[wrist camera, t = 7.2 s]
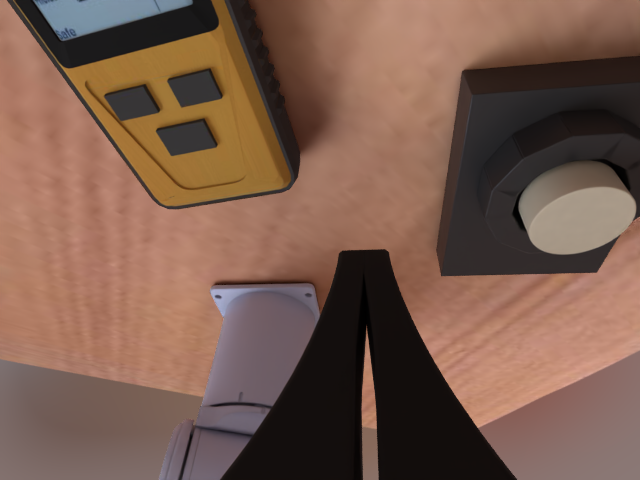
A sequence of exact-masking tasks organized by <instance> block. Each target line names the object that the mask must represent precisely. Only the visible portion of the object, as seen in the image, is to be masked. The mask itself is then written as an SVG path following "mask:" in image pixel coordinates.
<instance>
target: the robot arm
mask: <svg viewBox="0 0 640 480" xmlns="http://www.w3.org/2000/svg"><path fill="white" fill-rule="evenodd" d="M210 293H211V295H212V297H213V299H214V301H215V303H216V305H217V307H218V308H219V310H220V312H221V314H222V316H223V318H224V320H223V324H222V328H221V332H220V336H219V339H218V343H217V347H216V351H215V355H214V359H213V363H212V367H211V371H210V375H209V379H208V383H207V387H206V391H205V395H204V399H203V403H202V406H200V410H199V414H198V417H197V422H196V425H193V422H194V420H192V419H185V420H184V421H183V423H180V424H179V425H178V426H176V427H175V429H174V431H173V433H172V437H171V439H170V443H169V446H168V449H167V452H166V456H165V459H164V462H163V466H162V470H161V473H160V476H159V480H363V466H362V411H361V408H362V385H363V371H364V356H365V341H366V326H367V331H368V339H369V348H370V356H371V364H372V373H373V381H374V389H375V399H376V415H377V441H378V471H379V480H517V479H516V478H515V476H514V475H513V474H512V473H511V471H510V470H509V469H508V468H507V466H506V465H505V464H504V462H503V461H502V460H501V459H500V458H499V456H498V455H497V454H496V452H495V451H494V449H493V448H492V447H491V445H490V444H489V443H488V442H487V440H486V439H485V438H484V436H483V435H482V434H481V432H480V431H479V429H478V428H477V426H476V425H475V424H474V422H473V421H472V419H471V418H470V416H469V415H468V413H467V412H466V411H465V409H464V408H463V406H462V405H461V403H460V402H459V400H458V399H457V398H456V396H455V395H454V393H453V391H452V390H451V388H450V387H449V385H448V383H447V382H446V380H445V379H444V377H443V375H442V374H441V372H440V370H439V369H438V367H437V365H436V364H435V362H434V360H433V358H432V357H431V355H430V353H429V351H428V349H427V348H426V346H425V344H424V342H423V340H422V338H421V336H420V334H419V332H418V330H417V328H416V326H415V324H414V322H413V320H412V318H411V316H410V313H409V311H408V309H407V307H406V304H405V302H404V300H403V297H402V295H401V292H400V290H399V287H398V284H397V281H396V279H395V276H394V272H393V269H392V266H391V261H390V257H389V252H388V251H387V250H385V249H380V250H348V251H342V252H340V253H339V257H338V263H337V267H336V271H335V275H334V279H333V282H332V285H331V288H330V291H329V294H328V297H327V299H326V302H325V305H324V307H323V310H322V313H321V315H320V312H319V307H318V302H317V297H316V292H315V287H314V286H313V285H312V284H309V283H296V284H250V285H214V286H212V287H211V289H210Z"/></svg>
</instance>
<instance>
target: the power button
mask: <svg viewBox="0 0 640 480" xmlns="http://www.w3.org/2000/svg"><path fill="white" fill-rule="evenodd" d="M518 208H519V213H520V215H521V218H522V220H523V223H524V225H525V228H526V230H527V233H528V235H529V238H530V240H531V242H532V243H533V244H534V245H535V246H536V247H537V248H539V249H540V250H542V251H545V252H548V253H552V254H575V253H581V252H585V251H589V250H592V249H595V248H598V247H600V246H602V245H604V244H606V243H608V242H610V241H612V240H613V239H615V238H616V237H618V236H619V235H620V234H621V233H622V232H624V231H625V230H626V229H627V228H628V226H629V225H630V224H631V222H632V221H633V219H634V217H635V214H636V202H635V200H634V198H633V197H632V195H631V194H630V192H629V191H628V190H627V188H626V187H625V185H624V184H623V183H622V181H621V180H620V178H619V177H618V175H617V174H616V173H615V171H614V170H613V169H612V168H611V167H609V166H608V165H606V164H604V163H601V162H597V161H591V160H580V161H573V162H568V163H565V164H563V165H560V166H558V167H555V168H553V169H551V170H548V171H546V172H544V173H542V174H540V175H539V176H538V177H536V178H535V179H534V180H533V181H532V182H531V183H530V184H529V185H528V186H527V187H526V188H525V190H524V191H523V193H522V194H521V197H520V200H519V206H518Z"/></svg>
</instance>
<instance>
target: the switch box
mask: <svg viewBox="0 0 640 480" xmlns="http://www.w3.org/2000/svg"><path fill="white" fill-rule="evenodd" d="M580 160H591V161H597V162H601V163H604V164H606V165H608V166H609V167H611V168H612V169H613V170H614V171H615V173H616V174H617V175H618V177H619V178H620V180H621V181H622V183H623V184H624V185H625V187H626V188H627V190H628V191H629V192H630V194H631V195H632V197H633V198H634V200H635V202H636V214H635V217H634V219H633V221H634V220H635V219H636V218H638V217H639V216H640V56H636V57H624V58H612V59H600V60H588V61H576V62H564V63H552V64H540V65H528V66H515V67H503V68H491V69H479V70H467V71H462V77H461V84H460V91H459V97H458V104H457V111H456V118H455V125H454V132H453V139H452V146H451V153H450V160H449V166H448V173H447V180H446V187H445V194H444V201H443V208H442V215H441V222H440V229H439V235H438V242H437V249H436V251H437V256H438V261H439V267H440V272H441V276H469V275H513V274H556V273H596V272H597V271H598V270H599V268H600V266H601V265H602V263H603V262H604V260H605V258H606V257H607V255H608V253H609V252H610V250H611V249H612V247H613V245H614V244H615V242H616V240H617V239H618V237H619V236H620V235H619V236H618V237H616V238H615V239H613V240H612V241H610V242H608V243H606V244H604V245H602V246H600V247H598V248H595V249H592V250H589V251H585V252H581V253H575V254H552V253H548V252H545V251H542V250H540V249H539V248H537V247H536V246H535V245H534V244H533V243H532V242H531V240H530V238H529V235H528V233H527V230H526V228H525V225H524V223H523V220H522V218H521V215H520V213H519V208H518V206H519V200H520V197H521V194H522V193H523V191H524V190H525V188H526V187H527V186H528V185H529V184H530V183H531V182H532V181H533V180H534V179H535V178H536V177H538V176H539V175H540V174H542V173H544V172H546V171H548V170H551V169H553V168H555V167H558V166H560V165H563V164H565V163H568V162H573V161H580Z"/></svg>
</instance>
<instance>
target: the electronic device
mask: <svg viewBox="0 0 640 480" xmlns="http://www.w3.org/2000/svg"><path fill="white" fill-rule="evenodd" d="M7 1H8V2H9V3H10V5H11V6H12V8H13V9H14V10H15V12H16V13H17V14H18V16H19V17H20V19H21V20H22V21H23V23H24V24H25V25H26V27H27V28H28V30H29V31H30V32H31V34H32V35H33V36H34V38H35V39H36V41H37V42H38V43H39V45H40V46H41V47H42V49H43V50H44V52H45V53H46V54H47V56H48V57H49V58H50V60H51V61H52V62H53V64H54V65H55V67H56V68H57V69H58V71H59V72H60V73H61V75H62V76H63V78H64V79H65V80H66V82H67V83H68V84H69V86H70V87H71V89H72V90H73V91H74V93H75V94H76V95H77V97H78V98H79V100H80V101H81V102H82V104H83V105H84V106H85V108H86V109H87V111H88V112H89V113H90V115H91V116H92V117H93V119H94V120H95V122H96V123H97V124H98V126H99V127H100V128H101V130H102V131H103V132H104V134H105V135H106V137H107V138H108V139H109V141H110V142H111V143H112V145H113V146H114V148H115V149H116V150H117V152H118V153H119V154H120V156H121V157H122V159H123V160H124V161H125V163H126V164H127V165H128V167H129V168H130V170H131V171H132V172H133V174H134V175H135V176H136V178H137V179H138V181H139V182H140V183H141V185H142V186H143V187H144V189H145V190H146V192H147V193H148V194H149V196H150V197H151V198H152V199H153V200H154V201H155V202H156V203H157V204H158V205H160V206H162V207H165V208H167V209H183V208H189V207H195V206H201V205H208V204H214V203H220V202H226V201H232V200H239V199H245V198H251V197H257V196H263V195H269V194H276V193H282V192H284V191H286V190H289V189H290V188H291V187H292V185H293V184H294V182H295V181H296V179H297V178H298V173H299V166H300V151H299V147H298V144H297V142H296V139H295V136H294V133H293V130H292V127H291V124H290V121H289V118H288V115H287V112H286V110H285V107H284V103H285V98H284V96H283V95H281V94H280V92H279V87H280V83H279V81H278V80H276V79H275V77H274V75H273V73H274V69H275V68H274V65H273V64H271V63H269V60H268V57H267V56H268V53H269V50H268V48H267V47H265V46H264V45H263V42H262V40H261V37H262V35H263V32H262V30H261V29H259V28H258V27H257V25H256V22H255V17H256V12H255V10H254V9H252V8H250V5H249V2H248V0H7Z"/></svg>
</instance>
